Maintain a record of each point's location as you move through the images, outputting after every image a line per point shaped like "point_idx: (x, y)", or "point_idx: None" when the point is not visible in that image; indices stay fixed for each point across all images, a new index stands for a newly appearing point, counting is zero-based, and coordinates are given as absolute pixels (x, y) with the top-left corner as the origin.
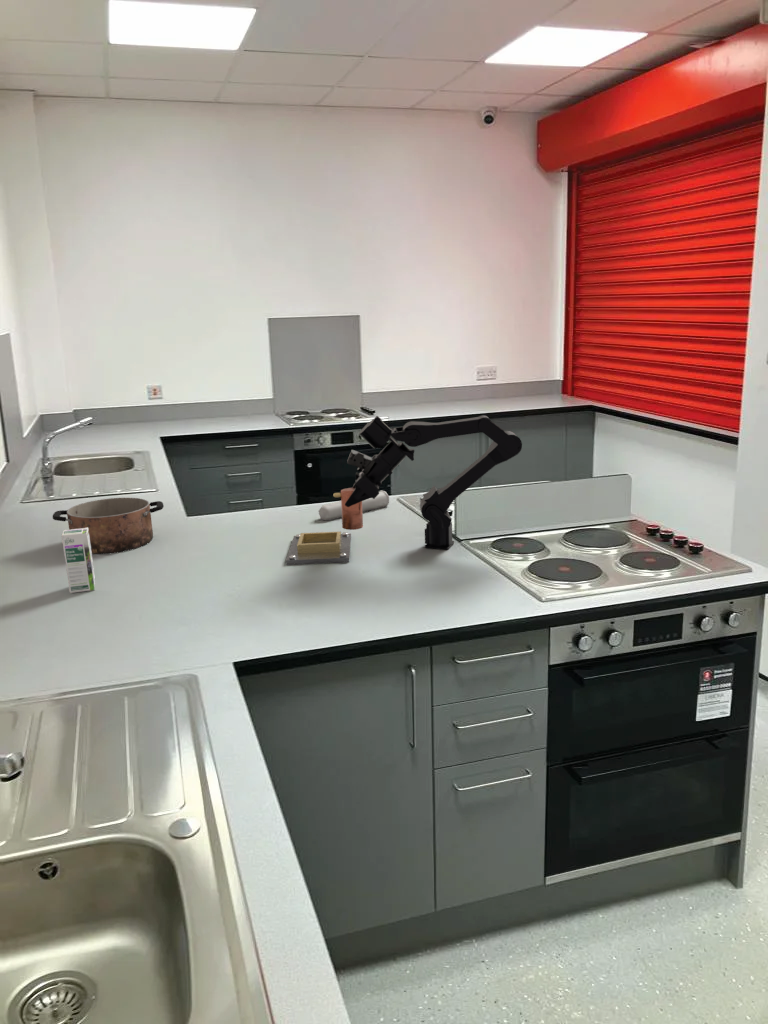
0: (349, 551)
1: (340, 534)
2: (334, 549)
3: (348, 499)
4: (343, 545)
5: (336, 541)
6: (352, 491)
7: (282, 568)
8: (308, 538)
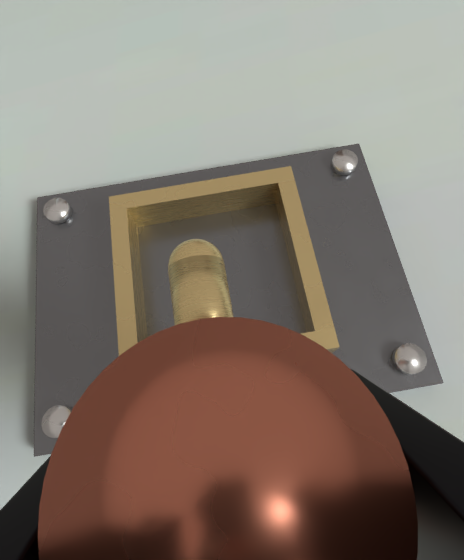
0: None
1: None
2: None
3: (36, 475)
4: None
5: None
6: (128, 546)
7: (9, 205)
8: (280, 210)
